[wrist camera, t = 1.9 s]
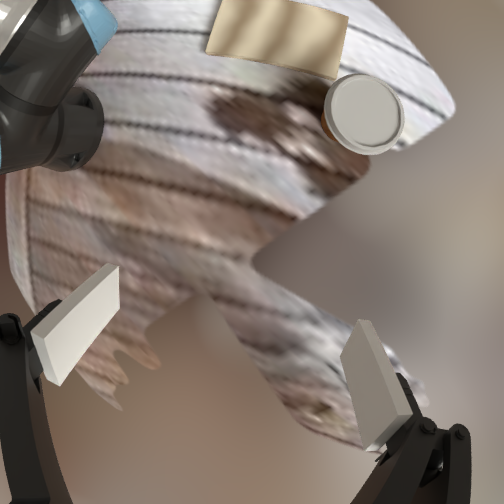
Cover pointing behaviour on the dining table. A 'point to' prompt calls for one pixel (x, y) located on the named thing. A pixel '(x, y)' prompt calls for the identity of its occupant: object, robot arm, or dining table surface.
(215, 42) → the serving board
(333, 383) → the dining table surface
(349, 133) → the disposable coffee cup
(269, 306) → the dining table surface
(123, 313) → the dining table surface
